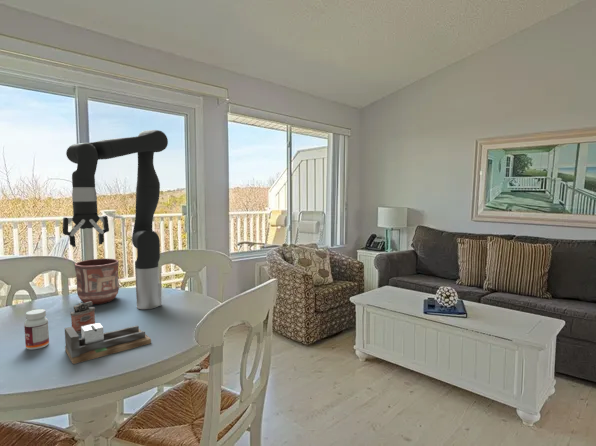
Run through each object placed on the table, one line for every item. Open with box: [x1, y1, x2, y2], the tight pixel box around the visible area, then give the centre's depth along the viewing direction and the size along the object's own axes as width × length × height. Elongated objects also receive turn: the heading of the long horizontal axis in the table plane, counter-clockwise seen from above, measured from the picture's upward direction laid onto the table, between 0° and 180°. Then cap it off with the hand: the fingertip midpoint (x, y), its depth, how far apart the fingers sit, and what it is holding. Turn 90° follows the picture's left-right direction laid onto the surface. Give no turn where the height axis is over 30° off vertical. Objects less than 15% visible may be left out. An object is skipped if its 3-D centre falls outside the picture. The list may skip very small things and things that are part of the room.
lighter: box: [69, 301, 96, 335], centre depth 130 cm, size 8×3×10 cm, turn 148°
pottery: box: [74, 258, 120, 306], centre depth 165 cm, size 18×18×18 cm
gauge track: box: [64, 325, 152, 365], centre depth 116 cm, size 22×12×8 cm, turn 131°
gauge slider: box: [80, 322, 104, 346], centre depth 112 cm, size 5×7×6 cm
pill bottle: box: [23, 308, 50, 350], centre depth 117 cm, size 6×6×11 cm
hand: (87, 245), depth 132 cm, fingers open, 8 cm apart
